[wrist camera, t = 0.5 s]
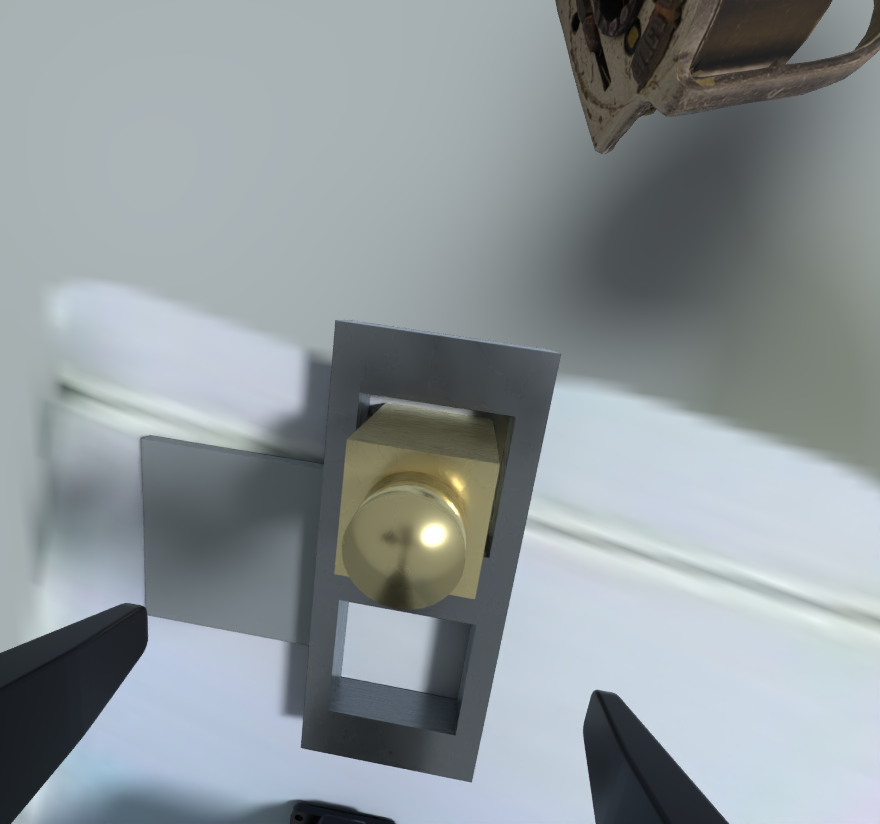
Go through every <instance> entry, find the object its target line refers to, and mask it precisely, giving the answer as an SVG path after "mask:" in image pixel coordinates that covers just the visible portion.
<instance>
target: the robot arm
mask: <svg viewBox="0 0 880 824" xmlns="http://www.w3.org/2000/svg"><path fill="white" fill-rule="evenodd" d="M147 642H148V617H147V610H146V608H145V607H144V606H141V605H135V604H130V603H124V604H120V605H118V606H115V607H113V608H110V609H108V610H105V611H103V612H101V613H98V614H96V615H93V616H91V617H88V618H86V619H83V620H81V621H78V622H76V623H73V624H71V625H68V626H66V627H64V628H61V629H59V630H56V631H54V632H51V633H49V634H46V635H44V636H41V637H39V638H36V639H34V640H31V641H29V642H26V643H24V644H22V645H19V646H17V647H14V648H12V649H9V650H7V651H4V652H2V653H0V824H11V823H12V822H13V821H14V820H15V818H16V817H17V816H18V815H19V814H20V812H21V811H22V810H23V809H24V808H25V806H26V805H27V804H28V803H29V802H30V800H31V799H32V798H33V797H34V795H35V794H36V793H37V792H38V791H39V789H40V788H41V787H42V786H43V785H44V783H45V782H46V781H47V780H48V779H49V777H50V776H51V775H52V774H53V773H54V771H55V770H56V769H57V768H58V767H59V765H60V764H61V763H62V762H63V761H64V759H65V758H66V757H67V756H68V755H69V753H70V752H71V751H72V750H73V749H74V747H75V746H76V745H77V744H78V742H79V741H80V740H81V739H82V737H83V736H84V735H85V733H86V732H87V731H88V729H89V728H90V727H91V725H92V724H93V723H94V721H95V720H96V719H97V717H98V716H99V714H100V713H101V712H102V710H103V709H104V707H105V706H106V705H107V703H108V702H109V700H110V699H111V698H112V696H113V695H114V693H115V692H116V691H117V689H118V688H119V686H120V685H121V684H122V682H123V681H124V679H125V678H126V677H127V675H128V674H129V672H130V671H131V670H132V668H133V667H134V665H135V664H136V663H137V661H138V660H139V658H140V657H141V656H142V654H143V652H144V650H145V648H146V646H147ZM583 737H584V744H585V751H586V758H587V766H588V773H589V780H590V787H591V794H592V801H593V808H594V815H595V822H596V824H729V823H728V822H727V821H726V819H725V818H724V817H723V816H722V815H721V814H720V813H719V811H718V810H717V809H716V808H715V807H714V806H713V804H712V803H711V802H710V801H709V800H708V799H707V798H706V796H705V795H704V794H703V793H702V792H701V791H700V789H699V788H698V787H697V786H696V785H695V784H694V783H693V781H692V780H691V779H690V778H689V777H688V776H687V774H686V773H685V772H684V771H683V770H682V769H681V767H680V766H679V765H678V764H677V763H676V762H675V761H674V759H673V758H672V757H671V756H670V755H669V754H668V752H667V751H666V750H665V749H664V748H663V747H662V746H661V744H660V743H659V742H658V741H657V740H656V739H655V737H654V736H653V735H652V734H651V733H650V732H649V731H648V729H647V728H646V727H645V726H644V725H643V724H642V722H641V721H640V720H639V719H638V718H637V717H636V715H635V714H634V713H633V712H632V711H631V710H630V709H629V707H628V706H627V705H626V704H625V703H624V702H623V700H622V699H621V698H620V697H619V696H618V695H617V694H615V693H612V692H607V691H602V690H595V691H593V693H592V695H591V698H590V702H589V706H588V709H587V713H586V717H585V720H584V726H583ZM290 824H394V823H391V822H386V821H381V820H376V819H372V818H367V817H362V816H357V815H353V814H348V813H343V812H338V811H333V810H329V809H324V808H319V807H314V806H309V805H305V804H297V805H295V806H294V808H293V811H292V814H291V818H290Z"/></svg>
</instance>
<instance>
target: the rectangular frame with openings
mask: <svg viewBox="0 0 880 824" xmlns="http://www.w3.org/2000/svg"><path fill="white" fill-rule="evenodd" d="M560 356H561V354H560V353H558V352H555V351H553V350H548V349H542V348H535V347H528V346H521V345H514V344H507V343H501V342H494V341H487V340H481V339H474V338H467V337H461V336H454V335H447V334H440V333H434V332H426V331H420V330H413V329H407V328H400V327H393V326H386V325H380V324H373V323H365V322H359V321H353V320H336V321H335V333H334V345H333V357H332V369H331V382H330V394H329V406H328V419H327V431H326V444H325V456H324V468H323V481H322V493H321V505H320V518H319V530H318V542H317V555H316V567H315V580H314V592H313V604H312V617H311V629H310V641H309V654H308V666H307V678H306V691H305V703H304V715H303V728H302V740H301V748H304V749H309V750H313V751H318V752H323V753H328V754H333V755H338V756H343V757H348V758H353V759H358V760H363V761H368V762H373V763H378V764H383V765H388V766H393V767H398V768H403V769H408V770H413V771H418V772H423V773H427V774H432V775H437V776H442V777H447V778H452V779H457V780H462V781H467V782H472V779H473V774H474V769H475V764H476V760H477V755H478V750H479V745H480V740H481V736H482V731H483V726H484V721H485V716H486V712H487V707H488V702H489V697H490V692H491V688H492V683H493V678H494V673H495V668H496V664H497V659H498V654H499V649H500V644H501V640H502V635H503V630H504V625H505V620H506V616H507V611H508V606H509V601H510V597H511V592H512V587H513V582H514V577H515V573H516V568H517V563H518V558H519V553H520V549H521V544H522V539H523V534H524V529H525V525H526V520H527V515H528V510H529V505H530V501H531V496H532V491H533V486H534V481H535V477H536V472H537V467H538V462H539V457H540V453H541V448H542V443H543V438H544V434H545V429H546V424H547V419H548V414H549V410H550V405H551V400H552V395H553V390H554V386H555V381H556V376H557V371H558V366H559V362H560ZM370 394H374V395H380V396H387V397H393V398H399V399H406V400H412V401H419V402H425V403H431V404H438V405H444V406H450V407H457V408H463V409H470V410H476V411H482V412H489V413H495V414H501V415H508V416H510V420H509V425H508V430H507V436H506V441H505V446H504V452H503V457H502V462H501V468H500V473H499V479H498V484H497V489H496V495H495V500H494V505H493V511H492V516H491V521H490V527H489V532H488V535H487V538H486V543H485V549H484V554H483V559H482V565H481V570H480V575H479V581H478V586H477V592H476V597H475V599H470V598H465V597H459V596H454V595H448V596H447V597H445V598H444V599H442V600H441V601H439V602H437V603H435V604H434V605H431V606H428V607H425V608H420V609H413V610H403V609H395V608H391V607H387V606H385V605H382V604H379V603H377V602H375V601H373V600H372V599H370V598H369V597H367V596H366V595H365V594H364V593H362V592H361V591H360V590H359V589H358V588H357V587H356V586H355V584H354V583H353V582H352V580H351V579H350V577H348V576H342V575H337V574H334V572H335V561H336V550H337V540H338V529H339V518H340V507H341V497H342V486H343V475H344V464H345V454H346V443H347V439H348V438H349V437H350V436H351V435H352V434H353V433H354V432H355V431H356V430H357V429H358V428H360V427H361V426H362V425H363V424H364V423H365V422H366V421H367V420H368V412H369V402H370ZM349 602H353V603H358V604H364V605H369V606H375V607H380V608H385V609H391V610H396V611H402V612H407V613H413V614H418V615H424V616H429V617H435V618H440V619H446V620H451V621H457V622H462V623H468V624H471V629H470V634H469V639H468V645H467V650H466V655H465V661H464V666H463V671H462V677H461V682H460V688H459V693H458V698H457V699H452V698H447V697H442V696H436V695H431V694H426V693H421V692H416V691H410V690H405V689H400V688H395V687H390V686H384V685H379V684H374V683H369V682H364V681H358V680H353V679H348V678H343V677H341V671H342V661H343V652H344V642H345V632H346V623H347V613H348V604H349Z"/></svg>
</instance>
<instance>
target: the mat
mask: <svg viewBox="0 0 880 824" xmlns="http://www.w3.org/2000/svg"><path fill="white" fill-rule="evenodd" d="M141 445H142V481H143V517H144V554H145V590H146V610H147V615H149V616H154V617H159V618H165V619H170V620H175V621H180V622H186V623H191V624H196V625H202V626H207V627H212V628H217V629H223V630H228V631H233V632H239V633H244V634H249V635H254V636H260V637H265V638H270V639H276V640H281V641H286V642H291V643H297V644H302V645H307V646H309V641H310V629H311V617H312V604H313V592H314V580H315V567H316V555H317V542H318V530H319V518H320V505H321V493H322V481H323V468H324V464H319V463H313V462H307V461H301V460H295V459H289V458H283V457H277V456H271V455H265V454H259V453H253V452H247V451H241V450H235V449H229V448H223V447H217V446H211V445H205V444H199V443H193V442H187V441H181V440H175V439H169V438H163V437H157V436H148V437H145V438H142V439H141Z"/></svg>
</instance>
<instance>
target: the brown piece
mask: <svg viewBox="0 0 880 824" xmlns="http://www.w3.org/2000/svg"><path fill="white" fill-rule="evenodd" d="M831 2H832V0H556V6H557V11H558V15H559V18H560V22H561V25H562V29H563V33H564V37H565V41H566V45H567V49H568V54H569V58H570V62H571V66H572V70H573V74H574V78H575V82H576V86H577V89H578V93H579V97H580V101H581V104H582V107H583V111H584V114H585V118H586V121H587V125H588V128H589V132H590V135H591V138H592V142H593V145H594V148H595V151H597V152H599V153H601V154H606V153H608V152H609V151H611V150H612V149H613V148H614V146H615V145H616V143H617V142H618V141H619V139H620V138H621V137H622V136H623V135H624V134H625V133H626V132H627V130H628V129H629V128H630V127H631V126H632V124H633V123H634V122H635V121H636V120H637V118H639V117H641V116H642V115H650V114H653V113H654V112H655V110H656V109H657V110H658V111H659V112H661V113H662V114H664V115H665V116H680V115H685V114H692V113H698V112H703V111H708V110H713V109H717V108H722V107H728V106H733V105H738V104H744V103H751V102H759V101H766V100H774V99H781V98H786V97H792V96H797V95H803V94H805V93H808V92H811V91H814V90H817V89H820V88H822V87H826V86H828V85H831V84H833V83H835V82H838V81H840V80H843V79H845V78H846V77H848V76H849V75H850V74H852V73H853V72H854V71H856V70H857V69H858V68H860V67H861V66H862V65H863V64H865V63H866V62H867V61H868V60H869V59H870V58H871V57H872V56H873V55H875V54H876V53H877V52H878V51H879V50H880V0H874V10H873V14H872V18H871V22H870V25H869V28H868V30H867V33H866V35H865V36H864V38H863V39H862V40H861V42H860V43H859V44H858V46H857V47H856V49H855V50H854V51H852V52H850V53H846V54H842V55H839V56H835V57H831V58H826V59H821V60H817V61H811V62H804V63H797V64H787V65H785V64H786V62H787V61H788V60H789V59H790V58H791V57H792V56H793V54H794V53H795V52H796V51H797V50H798V49H799V48H800V46H801V45H802V44H803V43H804V42H805V41H806V40H807V38H808V37H809V35H810V34H811V32H812V31H813V29H814V28H815V27H816V25H817V24H818V22H819V21H820V19H821V18H822V16H823V15H824V13H825V12H826V10H827V9H828V7H829V6H830V4H831Z"/></svg>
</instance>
